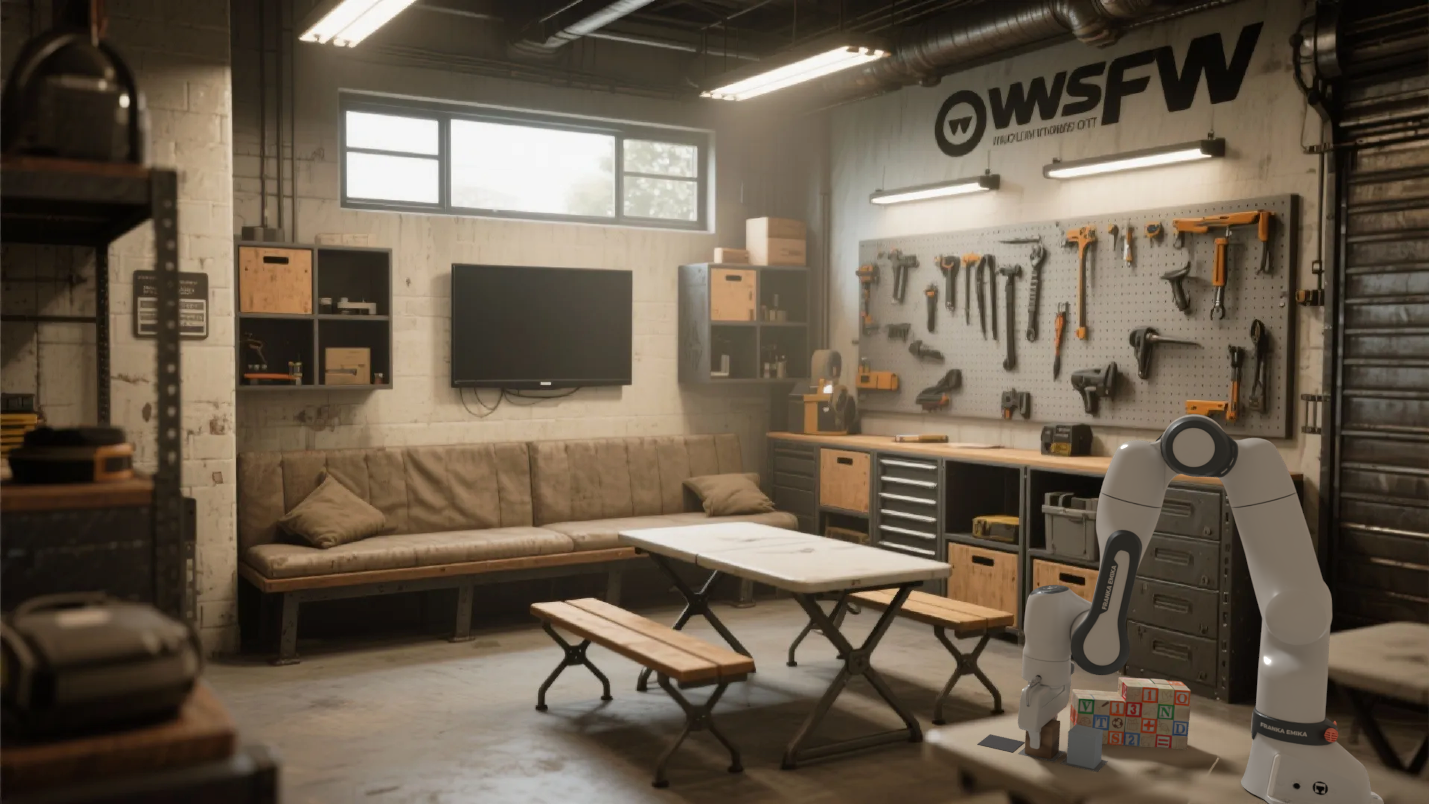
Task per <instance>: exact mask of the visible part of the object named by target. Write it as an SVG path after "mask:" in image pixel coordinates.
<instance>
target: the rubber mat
mask: <svg viewBox="0 0 1429 804" xmlns="http://www.w3.org/2000/svg"><path fill="white" fill-rule="evenodd" d="M976 744H977V746H982V747H987V748H991V749H995V750H999V751H1002V752H1003V751H1004V752H1008V753H1012V754H1013V753H1014V752H1015V751H1017V750H1018V749H1019V748H1020V747H1021V746H1023V744H1025V741H1022V740H1018V739H1014V738H1009V737H1004V736H999V735H994V734H988V735H987V736H986V737H984V738H983V739H982V740H980V741H979V742H978V743H976Z"/></svg>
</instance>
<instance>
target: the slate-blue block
mask: <svg viewBox="0 0 1429 804" xmlns="http://www.w3.org/2000/svg"><path fill="white" fill-rule="evenodd" d="M1102 738H1103V730H1101V729H1096V728H1091V727H1087V726H1082V725H1077V724H1076V725H1075V726H1074V727H1073V728H1072V729H1070V728H1069V730H1068V732H1067V749H1066V750H1067V751H1066V753H1067V754H1066V757H1067V763H1069V764H1074V765H1078V766H1082V767H1087V768H1091V769H1094V768H1095V767H1096V766H1097V765H1098V764H1099V763H1100V762H1101V760H1102V755H1103V754H1102V751H1103V744H1102Z"/></svg>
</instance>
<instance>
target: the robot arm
mask: <svg viewBox="0 0 1429 804" xmlns="http://www.w3.org/2000/svg"><path fill="white" fill-rule="evenodd" d="M1179 475H1184V476H1188V477H1192V478H1193V477H1195V478H1218V479H1219V481H1221V483H1222V485H1223V487H1224V490H1225V493H1226V495H1227V498H1228V502H1229V506H1230V508H1231V513H1232V515H1233V517H1234V521H1235V524H1236V528H1237V531H1238V534H1239V538H1240V541H1241V544H1242V547H1243V551H1244V554H1245V558H1246V562H1247V567H1248V571H1249V575H1250V578H1251V583H1252V587H1253V590H1254V594H1255V597H1256V601H1257V604H1258V605H1257V606H1258V609H1259V612H1260V616H1261V629H1260V630H1261V632H1260V644H1259V645H1260V646H1259V654H1258V657H1259V658H1258V668H1257V685H1256V699H1255V700H1256V701H1255V702H1256V703H1255V706H1254V708H1253V709H1252V713H1251V723H1250V734H1251V739H1252V741H1251V747H1250V752H1249V757H1248V760H1247V765H1246V768H1245V770H1244V774H1243V776H1242V778H1241V780H1240V783H1241V787H1243V788H1244V789H1245V790H1246V791H1248V792H1249V793H1251V794H1252V795H1255V796H1257V797H1258V798H1260V799H1262V800H1264V801H1266V803H1268V804H1385V802H1384V800H1383V798H1382V797H1381V796H1380V795H1379V794H1377V793H1376V792H1374V791H1372V789H1371V782H1370V777H1369V773H1368V771H1367V769H1366V767H1365V766H1364V764H1363V763H1361V762H1360V761H1359V760H1358V759H1357V758H1356V757H1355V756H1354V755H1352V754H1351V753H1350V752H1349V751H1348V750H1346V748H1344V747H1343V746H1342V745H1341V744H1340V743H1339V742H1338V741H1337V740H1338V737H1339V732H1338V726H1337V725H1338V724H1337V722H1336V720H1334V721H1331V720H1330V719H1329V718H1327V716H1326V706H1327V693H1328V692H1327V691H1328V677H1329V660H1330V659H1329V656H1330V636H1331V625H1332V621H1333V600H1332V593H1331V591H1330V589H1329V586H1328V585H1327V584H1326V582H1325V581H1324V579H1323V576H1322V572H1321V568H1320V565H1319V562H1318V558H1317V555H1316V552H1315V549H1314V548H1315V547H1314V544H1313V539H1312V538H1311V537H1312V536H1311V534H1310V530H1309V527H1308V524H1307V520H1306V519H1305V515H1304V513H1303V512H1304V511H1303V508H1302V506H1301V501H1300V499H1299V496H1298V493H1297V489H1296V486H1295V484H1294V480H1293V479H1292V476H1291V474H1290V471H1289V470H1288V467H1287V465H1286V462H1285V461H1284V459H1283V457H1282V455H1281V453H1280V451H1279V450H1278V449H1277V446H1276V445H1275V444H1274V443H1272V442H1271V441H1269V440H1267V439H1264V438H1260V437H1251V438H1250V437H1248V438H1243V439H1233V438H1232V437H1231V436H1230V435H1229V434H1227V432H1226V431H1225V430H1224V429H1223V428H1222V426H1221V425H1220V424H1219V423H1218V422H1217V421H1215V420H1214V419H1212V418H1210V417H1208V416H1206V415H1202V414H1198V413H1197V414H1196V413H1192V414H1186V415H1185V414H1184V415H1183V416H1179V417H1178V418H1176V419H1174V420H1173V421H1171V423H1169V425H1168V426H1167V428H1165V431H1164V432H1163V433H1162V434H1161V435H1160V436H1158V438H1157V439H1156V440H1155V441H1147V440H1141V439H1137V440H1135V439H1134V440H1129V441H1125V442H1123V443H1121V444H1120V445H1119V446H1118V447H1117V449H1116V450H1115V452H1114V454H1113V457H1112V458H1111V460H1110V463H1109V465H1108V468H1107V471H1106V473H1105V476H1104V478H1103V481H1102V485H1101V489H1100V493H1099V497H1098V501H1097V508H1096V518H1095V519H1096V521H1095V530H1096V537H1097V543H1098V548H1099V569H1098V575H1097V578H1096V584H1095V587H1094V592H1093V595H1092V601H1089V600H1087V599H1085V598H1083V597H1082V596H1080V595H1078V594H1077V593H1075V592H1074V591H1073V590H1072V589H1071V588H1070V587H1068V586H1066V585H1062V584H1061V585H1059V584H1049V585H1042V586H1040V587H1036V588H1035V589H1033V590H1032V591H1031V592H1030V593H1029V595H1028V597H1027V601H1026V605H1025V612H1024V621H1023V633H1024V636H1025V642H1024V647H1023V649H1022V657H1021V659H1022V662H1021V678H1022V679H1023V680H1024V681H1026V682H1027V685H1026V686H1025V687H1023V688H1022V690H1021V692H1020V698H1019V706H1018V713H1017V714H1018V715H1017V725H1018V729H1019V730H1021V731H1022V730H1023V731H1025V732H1026V731H1028V733H1029V737H1030V747H1031V748H1035V749H1038V748H1040V747H1041V742H1042V738H1041V737H1040V732H1041V728H1042V727H1043V726H1044V725H1045V724H1046V723H1048V722H1049V721H1050V720H1051V719H1053V720H1057V719H1058V715H1059V714H1060V713H1061V712H1062V711H1063V710H1065V709H1066V708H1067V706H1068V705H1069V699H1070V695H1071V694H1070V692H1071V688H1072V687H1071V686H1072V675H1073V674H1074V673H1075V671H1076V670H1075V669H1076V665H1077V666H1078V667H1079V668H1081V669H1082V670H1083V671H1085V672H1087V673H1089V674H1091V675H1096V676H1108V675H1112V674H1114V673H1117V672H1118V671H1119V670H1121V669H1122V668H1123V667H1124V666H1125V665H1126V663H1127V662H1128V660H1129V657H1130V650H1131V648H1130V647H1131V646H1130V641H1129V637H1128V632H1127V618H1128V612H1129V608H1130V604H1131V598H1132V595H1133V590H1134V587H1135V581H1136V577H1137V573H1138V570H1139V567H1140V566H1141V565H1140V564H1141V562H1142V560H1143V559H1144V555H1145V553H1146V551H1147V549H1148V546H1149V543H1150V541H1151V540H1152V537H1153V534H1154V531H1155V530H1156V527H1157V523H1158V521H1159V519H1160V514H1161V511H1162V507H1163V503H1164V500H1165V496H1166V492H1167V489H1168V486H1169V484H1170V483H1171V482H1172V480H1173V479H1174V478H1176V477H1177V476H1179ZM1071 659H1073V660H1074V661H1071ZM1075 663H1076V664H1075Z"/></svg>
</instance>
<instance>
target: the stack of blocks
mask: <svg viewBox="0 0 1429 804" xmlns="http://www.w3.org/2000/svg"><path fill="white" fill-rule="evenodd" d="M1191 692H1192V690H1191V689H1190V688H1188V686H1187V685H1186V684H1184V682H1182V681H1177V680H1166V679H1163V678H1162V679H1161V678H1140V677H1138V678H1137V677H1124V676H1123V677H1118V681H1117V691H1107V690H1105V691H1104V690H1094V689H1093V690H1091V689H1078V688H1077V689H1075V688H1073V689H1071V698H1070V699H1071V700H1070V711H1069V714H1070V716H1069V730H1070V729H1072V728H1073V727H1074V726H1075V725H1076V724H1077V725H1082V726H1087V727H1091V728H1096V729H1101V730H1103V738H1102V745H1115V746H1132V747H1134V746H1135V747H1147V748H1148V747H1149V748H1157V749H1158V748H1162V749H1174V750H1188V743H1189V742H1188V740H1189V727H1190V726H1189V725H1190V718H1191V717H1190V716H1191V705H1190V704H1191Z"/></svg>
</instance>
